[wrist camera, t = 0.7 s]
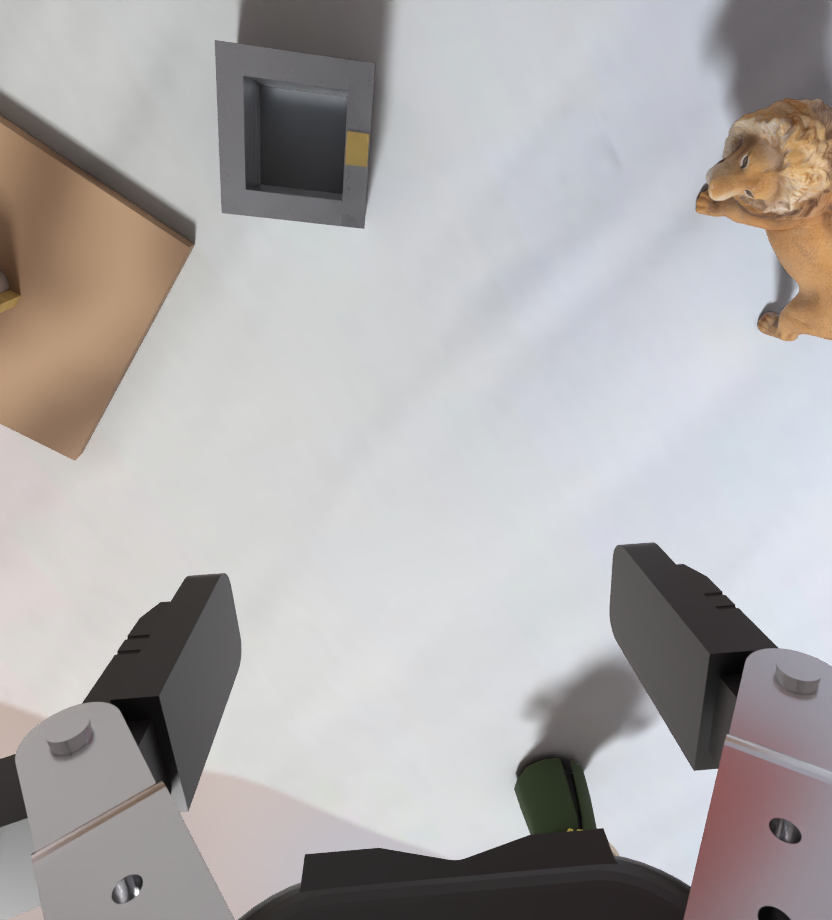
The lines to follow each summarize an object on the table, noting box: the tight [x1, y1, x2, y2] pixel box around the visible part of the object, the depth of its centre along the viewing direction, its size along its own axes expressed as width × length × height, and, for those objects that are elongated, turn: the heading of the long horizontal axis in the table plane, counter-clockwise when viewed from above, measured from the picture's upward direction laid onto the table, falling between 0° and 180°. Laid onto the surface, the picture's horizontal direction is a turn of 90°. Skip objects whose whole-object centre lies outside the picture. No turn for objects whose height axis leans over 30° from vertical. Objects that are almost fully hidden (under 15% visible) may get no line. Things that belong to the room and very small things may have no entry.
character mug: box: [514, 758, 619, 856], centre depth 46 cm, size 11×7×13 cm, turn 70°
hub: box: [215, 40, 375, 229], centre depth 25 cm, size 6×6×4 cm
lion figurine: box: [696, 99, 832, 341], centre depth 27 cm, size 15×5×9 cm, turn 47°
